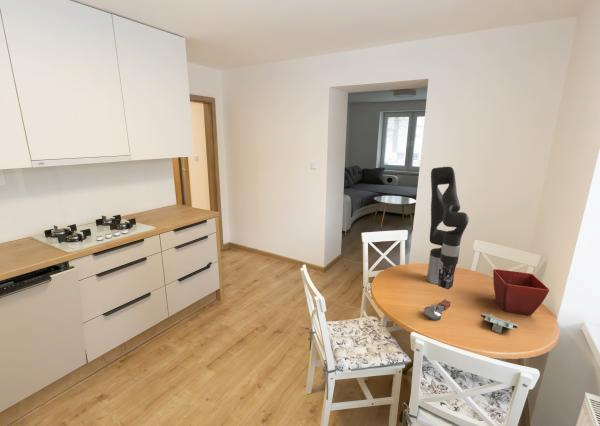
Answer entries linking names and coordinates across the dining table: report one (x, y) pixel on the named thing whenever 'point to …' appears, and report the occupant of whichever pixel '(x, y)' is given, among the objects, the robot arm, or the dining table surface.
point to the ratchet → (436, 310)
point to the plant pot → (518, 291)
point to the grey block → (448, 281)
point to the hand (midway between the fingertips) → (445, 285)
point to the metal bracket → (498, 323)
